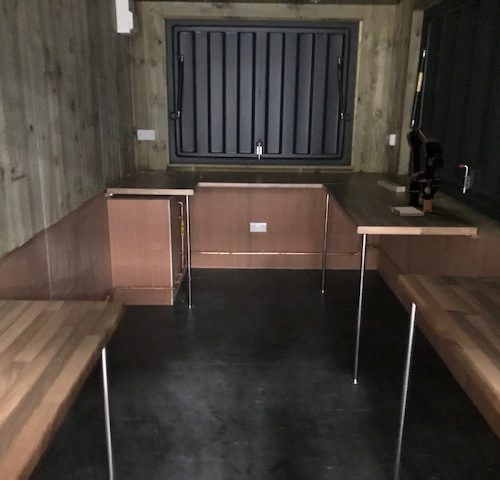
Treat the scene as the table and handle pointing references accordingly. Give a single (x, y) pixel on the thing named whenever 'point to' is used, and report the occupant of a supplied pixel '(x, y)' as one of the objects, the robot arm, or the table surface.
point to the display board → (405, 211)
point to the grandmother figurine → (427, 200)
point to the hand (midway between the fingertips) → (427, 197)
